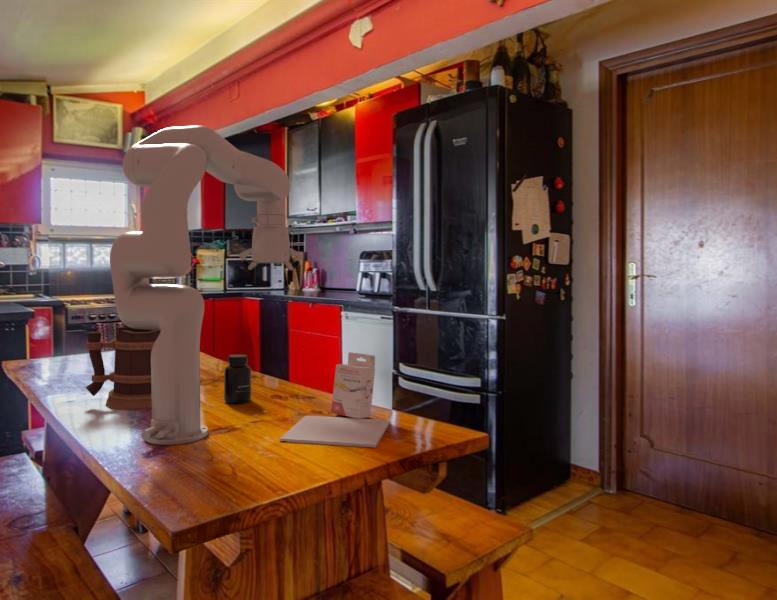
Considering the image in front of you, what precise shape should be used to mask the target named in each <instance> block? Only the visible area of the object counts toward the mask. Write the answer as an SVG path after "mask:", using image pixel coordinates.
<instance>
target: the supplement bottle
mask: <svg viewBox="0 0 777 600" xmlns="http://www.w3.org/2000/svg"><path fill="white" fill-rule="evenodd" d="M227 359H228V360H227V363H228V365H227V366H225V368H224V373H223V374H224V375H223V381H224V383H223V397H224V398H223V399H224V400H223V402H225V404H230V405H231V404H232V405H238V404H239V405H240V404H246V403H249V402H250V401H252V400H251V399H252V368H251V367H250V366H249V365H248V360H249V359H248V354H230V355H228V358H227Z"/></svg>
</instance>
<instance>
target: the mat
mask: <svg viewBox="0 0 777 600" xmlns="http://www.w3.org/2000/svg"><path fill="white" fill-rule="evenodd" d="M390 424H391V420H390V419H375V418H374V419H373V418H360V419H358V418H353V417H341V416H323V415H304V416H303V417H302V418H301V419H300V420H299V421H298V422H296V423H295V424H294V425H293V426H292V427H291V428H290V429H288V430H287V431H286V432H285V433H284V434H283V435H282V436H281V437H279V440H278V441H279V442H281V441H286V442H285V443H295V444H296V443H299V444H312V443H313V444H314V445H315V444H316V445H327V446H328V445H330V446H331V445H333V446H346V447H347V446H348V447H359V448H361V447H362V448H377V446H378V444H379V442H380V441H381V439H382V437H383V436H384V435H385V432H386V430H387V429H388V428H389V425H390ZM313 444H312V445H313Z"/></svg>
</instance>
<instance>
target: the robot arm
mask: <svg viewBox="0 0 777 600" xmlns="http://www.w3.org/2000/svg"><path fill="white" fill-rule="evenodd" d="M122 170H123V173H124V175H125V178H127V180H128V181H129V182H130V183H132V184H133V185H134V186H137V187H141V188H147V190H146V191H145V193H144V196H143V199H142V201H141V207H140V208H141V209H140V210H141V211H140V213H141V226H142V231H136V230H135V231H128V232H127V231H126V232H123V233H121V234H120V235H119V236H117V237H116V238H115V240H114V241H113V243H112V245H111V248H110V253H109V267H110V273H111V281H112V287H113V294H114V301H115V307H116V312H117V315H118V318H119V319H120V321H121V323H122V324H123V325H124V324H125V325H126V326H128V327H130V328H134V329H144V330H159V331H161V332H160V335H159V336H158V338H157V340H156V341H155V343H154V345H153V347H152V351H151V399H152V409H151V420H150V427H149V428H147V429H145V430H143V431H142V432H141V438H142V439H143V440H144V441H145V442H147V443H150V444H152V445H160V446H173V445H175V446H176V445H183V444H190V443H193V442H196V441H200V440H202V439H204V438H205V437H208V435H209V428H208V426H207V425H205V424H202V423H201V366H200V365H201V361H200V360H201V359H200V355H201V353H200V351H201V350H200V349H201V346H200V345H201V332H202V326H203V319H204V314H205V300H204V297H203V295H202V294H201V293H200V291H199V290H197V289H196V288H194V287H192V286H189V285H185V284H177V283H176V284H175V283H174V284H171V283H159V284H158V283H150V279H165V280H166V279H168V280H169V279H179V278H182V277H184V276H186V275H187V274H189V272H190V270H191V267H192V250H191V242H190V241H191V240H190V234H189V224H188V223H189V222H188V205H189V200H190V198H191V195H192V193H193V192H194V190H195V188H196V187H197V185H198V184H199V182H201V180H202V179H203V177H204V175H205V172H206V173H207V174H210V175H211V176H212V177H214V178H215V179H217V180H218V181H220V182H223V183H226V184H230V185H233V188H234V192H235V194H236V196H237V197H239V198H240V199H241V200H243V201H246V202H256V212H257V214H256V216H254V217H251V223H254V224H256V226H254V227H253V232H252V239H251V240H252V241H251V247H250V248H248V249H246V250H243V251H241V252H240V253H239V254H238V256H239V259H240V261H241V262H242V264H243V265H244V266H245V267H246V268H247V269H248V270H249V274H248V275H249V278H248V279H249V280H248V281H249V282H250V283H251V285H256V284H257V271H256V266H258V265H259V264H284V265H285V266H286V267H287V271H286V276H287V277H286V284H287V285H288V286H290V285H291V284H292V283H293V282H294V270H295V269H296V268H297V267H298V266H299V265H300V263H301V261H302V260H303V257H304V254H303V253H301V252H299V251H297V250H294V249H293V248H292V247H291V246H290V245H291V243H290V235H289V234H290V232H289V228H288V227H286V198H287V197H289V195H290V192H291V181H290V178H289V176H288V174H287V173H286V172H285V170H283V169H282V168H281V167H280V166H279V165H278V164H276V163H275V162H273V161H271V160H269V159H267V158H264V157H260V156H257V155H254V154H252V153H249V152H246V151H242V150H240V149H238V148H237V147H236V146H234V145H233V144H232V143H230V142H229V140H227V139H226V138H224V136H222V135H221V134H219V133H218V132H217V131H216V130H214V129H213V128H211V127H209V126H205V125H185V126H182V125H181V126H169V127H165V128H163V129H160V130H157V132H154V133H152V134H151V135H149V136H147V137H145V138H144V139H142V140H140V141H138V142H137V143H135V144H132V145H131V146H130V147H129V148H128V149H127V150H126V152H125V154H124V155H123V159H122ZM250 254H251V261H252V262H249V261H248V259H247V256H248V255H250ZM291 254H292V255H293V256H296V259H295V261H294V262H293V263H291V261H290V260H291Z"/></svg>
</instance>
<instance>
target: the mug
mask: <svg viewBox="0 0 777 600" xmlns="http://www.w3.org/2000/svg"><path fill="white" fill-rule="evenodd" d="M160 332H161V331H159V330H144V329H134V328H130V327H128V326H126V325H125V324H123V326H122V325H121V326H120V325H119V326H118V325H117V326H116V329H115V338H114V339H112V340H110V341H108V342H107V341H106V342H103V341H101V338H102V332H100V331H89V332H87V333H86V336H87V337H86V338H87V340H88V341H87V342H86V343H85V347H86V350H88V354H89V359H90V362H91V365H92V368H93V374H92V375H91V383H90V384H88V385H87V386H86V388H85V389H86V390H87V391H88V392H89V393H90V395H92V396H93V397H95V396H96V395H97V394H98V393H99V392H100V390H101V389H102V388H103V385H104V383H105V382H107V381H110V382H112V383H113V389H111V390H110V391H108V393H107V394H108V395H107V396H108V397H107V399H106V401H105V406H106V407H108V408H111V409H115V410H120V411H121V410H123V411H142V410H152V399H151V351H152V347H153V345H154V343H155V341H156V340H157V338H158V336H159V335H160ZM104 348H111V349H113V350H114V367H113V368H114V371H111V372H109V374H105V372H106V370H105V365H104V360H103V355H102V349H104Z"/></svg>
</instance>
